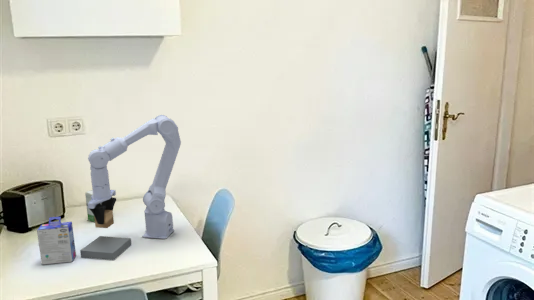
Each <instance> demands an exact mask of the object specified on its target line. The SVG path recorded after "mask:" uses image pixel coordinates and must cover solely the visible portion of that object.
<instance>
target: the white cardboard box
mask: <svg viewBox="0 0 534 300" xmlns="http://www.w3.org/2000/svg"><path fill="white" fill-rule="evenodd" d="M84 194H85V195H84V196H85V202H86V203H85V204H86V214H87V221H89V222H93V223H95V219H94V214H93V213H92V211H91V210H90V209H88V203H89V202H90V201H91V199H92V198H91V196H92V195H93V190H92V189H91V190H87V191H86V192H85V193H84Z"/></svg>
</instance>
